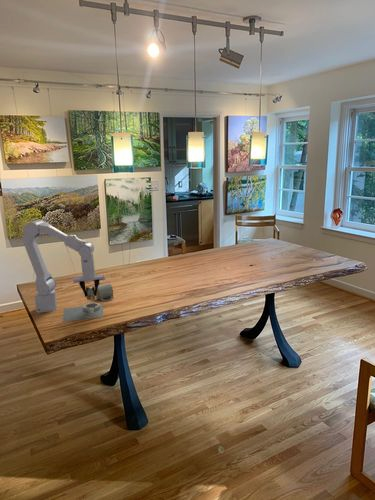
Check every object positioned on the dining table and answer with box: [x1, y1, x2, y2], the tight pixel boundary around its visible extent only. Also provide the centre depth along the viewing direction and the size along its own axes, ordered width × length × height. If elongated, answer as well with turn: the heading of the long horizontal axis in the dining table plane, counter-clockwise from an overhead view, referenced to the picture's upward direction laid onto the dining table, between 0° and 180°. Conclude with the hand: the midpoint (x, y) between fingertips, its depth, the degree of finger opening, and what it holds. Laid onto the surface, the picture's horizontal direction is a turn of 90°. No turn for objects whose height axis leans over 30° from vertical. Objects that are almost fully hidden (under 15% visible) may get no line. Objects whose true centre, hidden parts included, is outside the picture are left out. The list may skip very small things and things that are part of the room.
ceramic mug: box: [95, 282, 114, 302], centre depth 195 cm, size 11×8×8 cm
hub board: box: [62, 302, 104, 323], centre depth 178 cm, size 18×16×2 cm
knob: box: [85, 285, 96, 301], centre depth 180 cm, size 5×4×6 cm
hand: (90, 295), depth 181 cm, fingers closed on knob, 4 cm apart
